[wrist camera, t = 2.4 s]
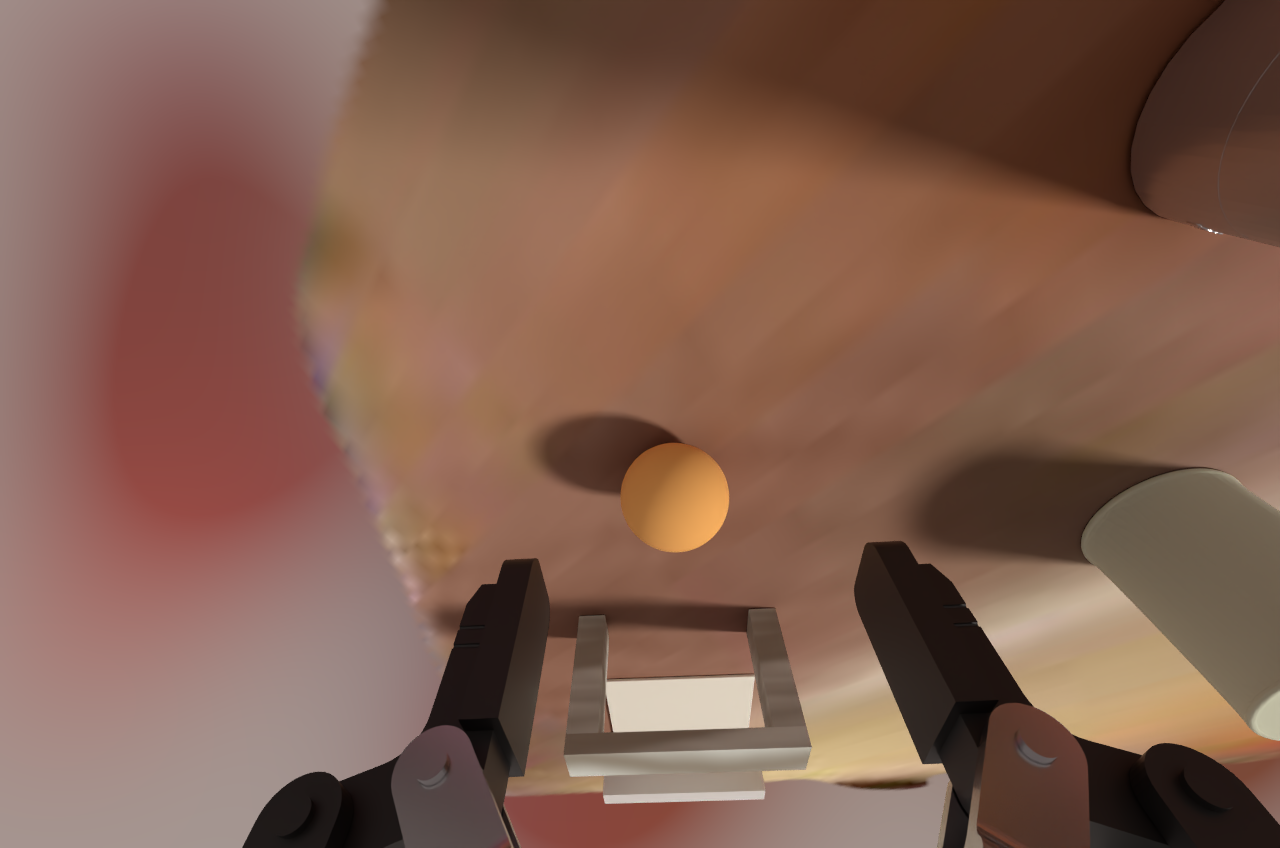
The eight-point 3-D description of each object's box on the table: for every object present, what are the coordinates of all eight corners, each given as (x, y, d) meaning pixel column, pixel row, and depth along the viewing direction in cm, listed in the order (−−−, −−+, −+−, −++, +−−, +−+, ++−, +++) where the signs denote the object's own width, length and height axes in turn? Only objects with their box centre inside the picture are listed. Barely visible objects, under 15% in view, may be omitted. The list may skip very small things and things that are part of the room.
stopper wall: (604, 761, 52) (603, 795, 50) (759, 756, 52) (765, 790, 49) (606, 770, 53) (605, 803, 51) (757, 765, 53) (763, 799, 50)
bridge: (579, 616, 39) (563, 755, 31) (775, 608, 38) (811, 747, 30) (584, 639, 40) (570, 776, 32) (771, 631, 40) (805, 769, 32)
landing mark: (604, 679, 44) (603, 681, 43) (754, 674, 43) (754, 676, 43) (617, 749, 51) (616, 752, 51) (745, 745, 50) (746, 747, 50)
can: (1071, 580, 37) (1234, 764, 27) (1089, 489, 32) (1296, 673, 22) (1217, 551, 35) (1449, 736, 25) (1259, 450, 30) (1568, 630, 20)
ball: (617, 424, 29) (613, 495, 24) (722, 419, 29) (740, 489, 24) (625, 502, 32) (623, 578, 27) (719, 497, 32) (734, 573, 27)
